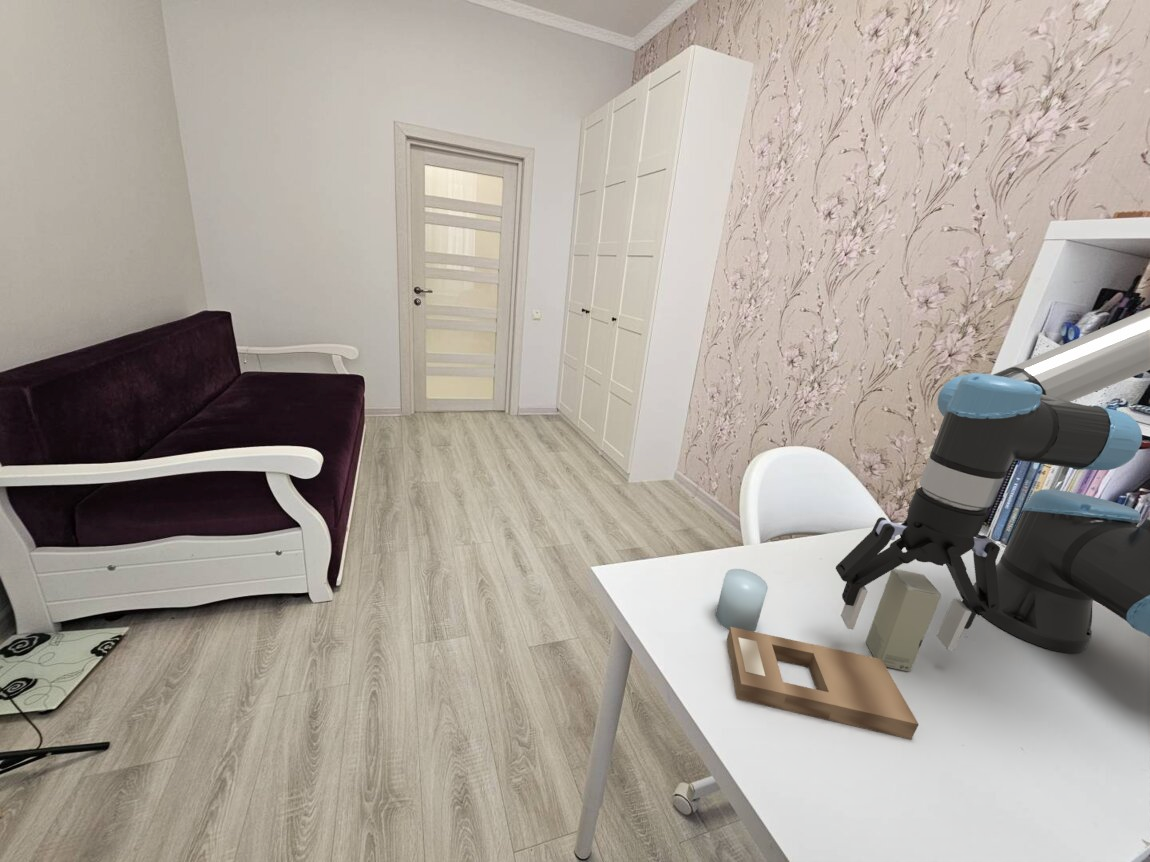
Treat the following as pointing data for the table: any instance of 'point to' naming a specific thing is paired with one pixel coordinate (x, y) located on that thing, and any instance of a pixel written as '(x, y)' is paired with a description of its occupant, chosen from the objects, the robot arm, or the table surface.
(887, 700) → the brown flat wooden slab
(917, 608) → the box
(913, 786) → the table surface
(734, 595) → the pale blue capsule
